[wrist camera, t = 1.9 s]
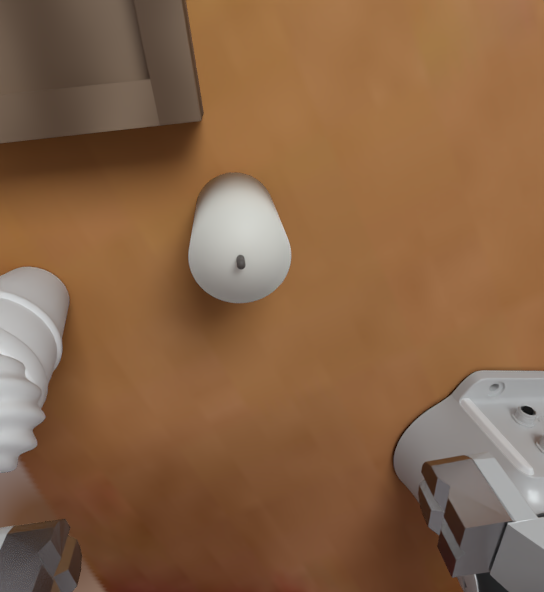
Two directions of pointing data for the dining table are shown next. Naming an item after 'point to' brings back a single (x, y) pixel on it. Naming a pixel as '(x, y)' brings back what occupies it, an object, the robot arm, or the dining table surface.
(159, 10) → the holder
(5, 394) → the soft serve ice cream cone
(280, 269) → the white wax pillar
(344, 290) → the dining table surface
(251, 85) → the dining table surface
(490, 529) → the robot arm
